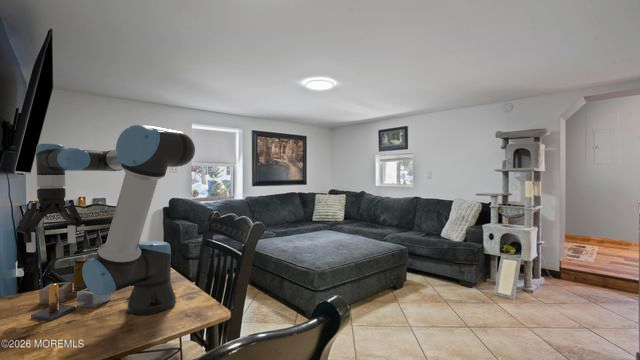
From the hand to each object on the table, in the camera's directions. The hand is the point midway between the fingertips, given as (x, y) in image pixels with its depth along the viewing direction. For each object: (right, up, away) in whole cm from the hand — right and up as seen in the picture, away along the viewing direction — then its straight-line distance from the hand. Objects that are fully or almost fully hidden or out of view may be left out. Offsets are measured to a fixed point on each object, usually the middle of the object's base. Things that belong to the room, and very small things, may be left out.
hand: (52, 247), depth 105 cm
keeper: (+6, -21, -6) cm, 23 cm away
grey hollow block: (+13, -21, +3) cm, 25 cm away
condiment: (-1, -21, +16) cm, 26 cm away
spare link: (-3, -21, +5) cm, 22 cm away
